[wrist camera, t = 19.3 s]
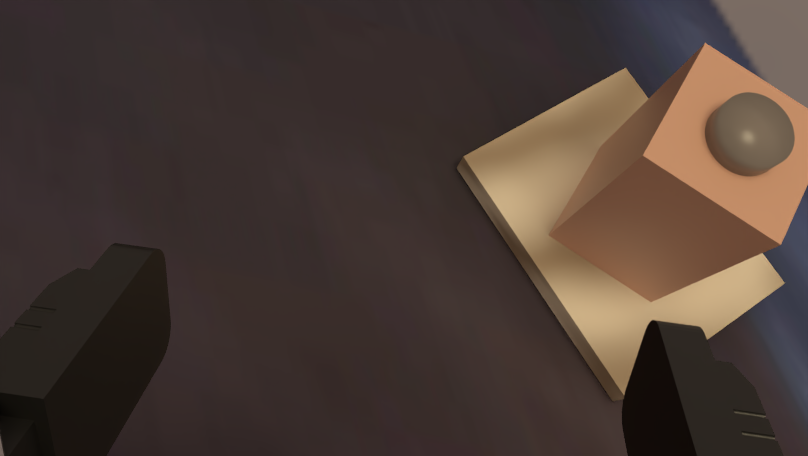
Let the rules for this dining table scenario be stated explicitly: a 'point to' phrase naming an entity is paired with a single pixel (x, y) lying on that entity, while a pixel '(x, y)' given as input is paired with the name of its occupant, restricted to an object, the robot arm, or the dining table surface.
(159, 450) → the dining table surface
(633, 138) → the square capped bottle
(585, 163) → the shaft board
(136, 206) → the dining table surface
